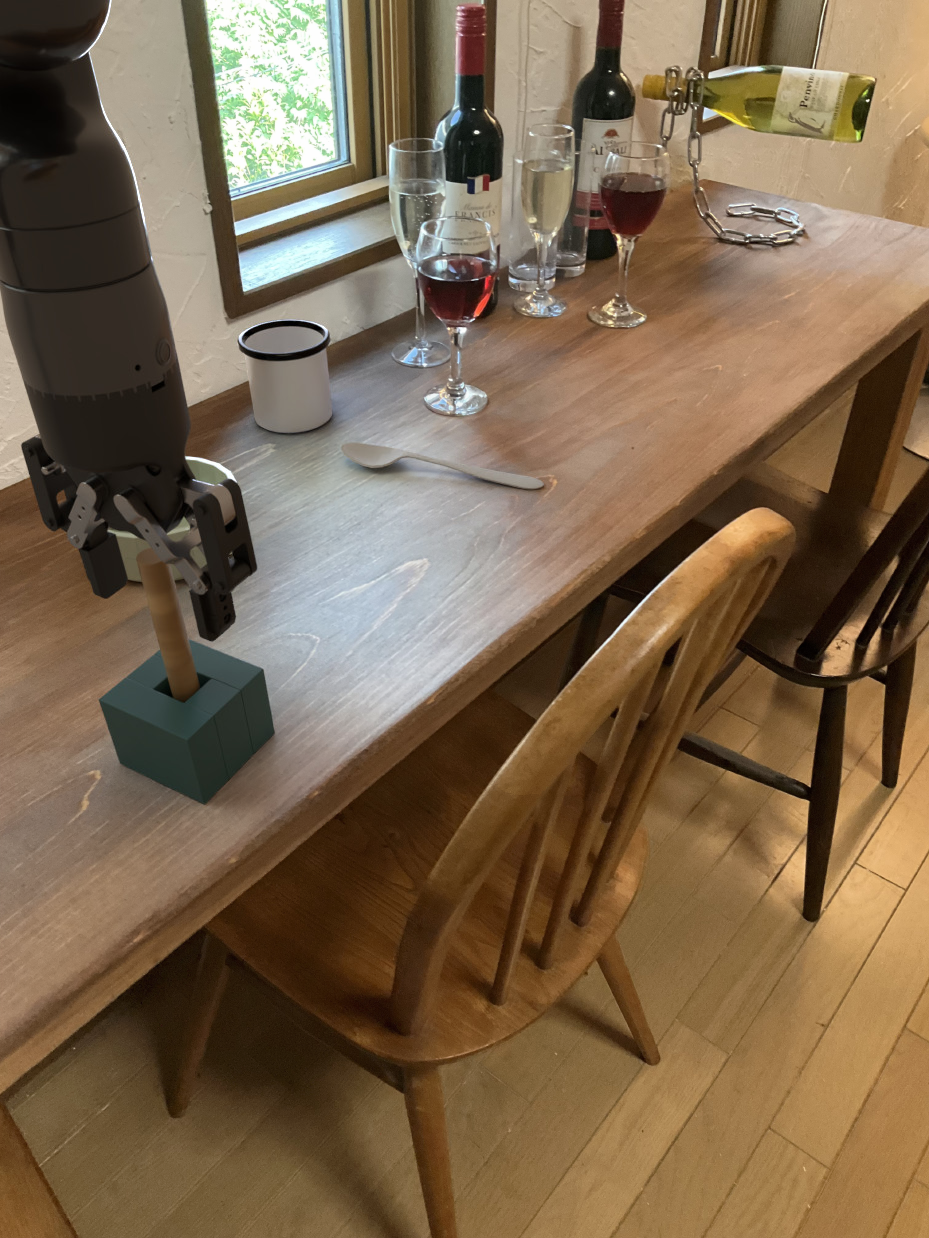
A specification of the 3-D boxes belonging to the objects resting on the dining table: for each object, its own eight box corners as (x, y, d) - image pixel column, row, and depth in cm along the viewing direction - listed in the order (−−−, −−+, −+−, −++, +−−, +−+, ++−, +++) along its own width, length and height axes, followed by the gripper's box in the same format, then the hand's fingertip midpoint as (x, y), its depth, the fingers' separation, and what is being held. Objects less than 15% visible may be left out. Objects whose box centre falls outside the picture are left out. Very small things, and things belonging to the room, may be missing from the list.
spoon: (349, 449, 98) (348, 434, 97) (547, 475, 94) (548, 460, 93) (334, 469, 95) (333, 454, 94) (538, 497, 91) (539, 482, 90)
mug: (310, 444, 99) (300, 361, 93) (232, 428, 102) (218, 346, 96) (363, 396, 108) (357, 317, 102) (290, 382, 110) (280, 305, 105)
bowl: (175, 604, 78) (163, 554, 75) (59, 559, 83) (43, 510, 80) (275, 526, 87) (268, 478, 84) (165, 489, 92) (154, 443, 89)
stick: (201, 760, 65) (152, 568, 55) (181, 750, 66) (129, 559, 55) (219, 743, 66) (174, 552, 56) (199, 734, 67) (151, 543, 57)
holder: (204, 805, 62) (187, 740, 58) (119, 763, 65) (98, 699, 61) (275, 732, 67) (263, 668, 63) (193, 697, 70) (178, 633, 66)
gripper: (-61, 356, 48) (32, 610, 58) (153, 419, 43) (214, 686, 53) (55, 306, 53) (121, 548, 63) (259, 357, 48) (296, 612, 58)
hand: (163, 611), depth 58 cm, fingers open, 8 cm apart
